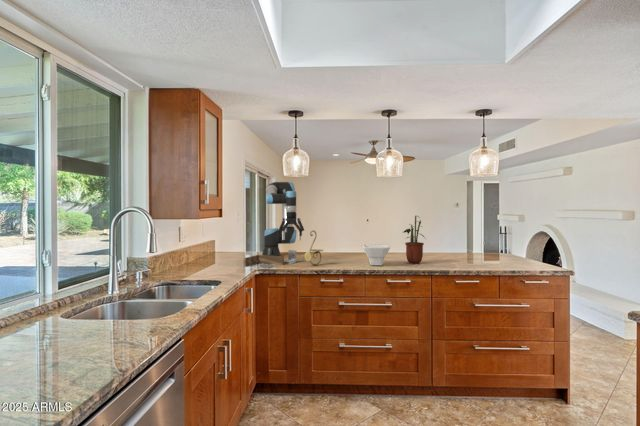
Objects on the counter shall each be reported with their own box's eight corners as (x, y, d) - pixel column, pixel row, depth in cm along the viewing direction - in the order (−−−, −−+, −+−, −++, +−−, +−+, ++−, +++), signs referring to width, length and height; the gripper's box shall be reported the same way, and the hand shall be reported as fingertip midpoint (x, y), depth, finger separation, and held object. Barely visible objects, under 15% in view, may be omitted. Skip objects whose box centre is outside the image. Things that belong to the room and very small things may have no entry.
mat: (260, 264, 277) (260, 264, 277) (276, 265, 271) (276, 265, 271) (253, 266, 267) (253, 266, 267) (269, 268, 262) (269, 267, 262)
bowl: (362, 263, 282) (362, 244, 282) (389, 263, 280) (389, 244, 280) (362, 267, 264) (362, 247, 263) (391, 267, 261) (391, 247, 261)
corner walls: (257, 262, 286) (257, 254, 286) (283, 264, 277) (283, 256, 277) (243, 266, 269) (243, 258, 269) (271, 268, 261) (270, 259, 260)
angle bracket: (289, 262, 289) (289, 250, 289) (296, 262, 287) (296, 250, 287) (283, 263, 281) (283, 251, 281) (290, 264, 279) (290, 252, 279)
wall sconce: (312, 267, 266) (312, 231, 265) (303, 265, 272) (303, 230, 272) (326, 264, 276) (326, 230, 275) (317, 263, 282) (317, 229, 282)
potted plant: (409, 261, 290) (409, 215, 290) (429, 263, 282) (429, 215, 281) (400, 264, 276) (400, 215, 275) (421, 266, 267) (421, 216, 266)
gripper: (274, 211, 288) (274, 239, 288) (304, 211, 278) (304, 241, 278) (279, 211, 295) (279, 239, 295) (308, 211, 285) (308, 240, 285)
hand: (291, 240), depth 287 cm, fingers open, 13 cm apart
